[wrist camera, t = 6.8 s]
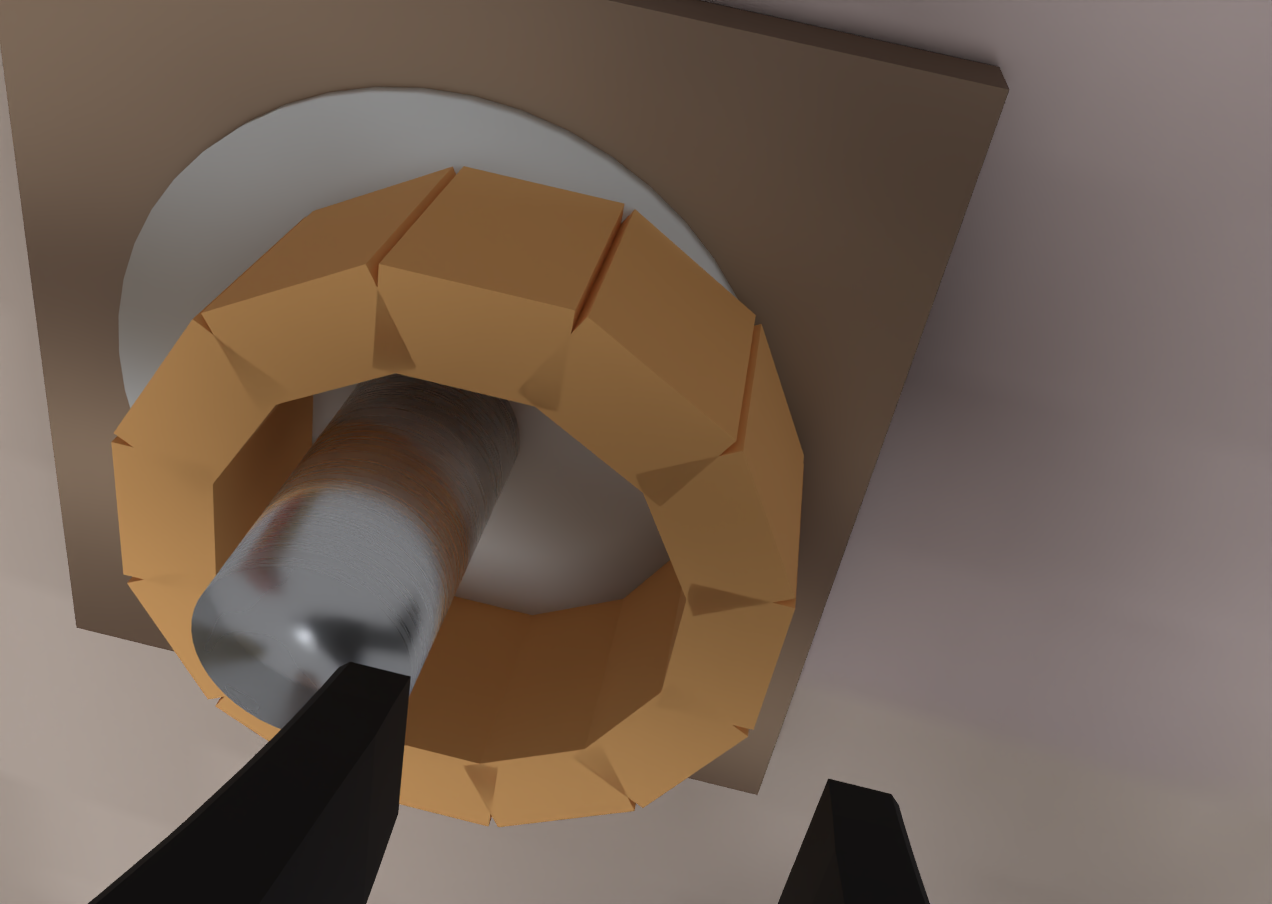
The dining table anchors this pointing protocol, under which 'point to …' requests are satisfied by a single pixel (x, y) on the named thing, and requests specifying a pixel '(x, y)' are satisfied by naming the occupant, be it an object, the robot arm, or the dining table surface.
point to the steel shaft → (358, 545)
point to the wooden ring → (567, 394)
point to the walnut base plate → (511, 146)
